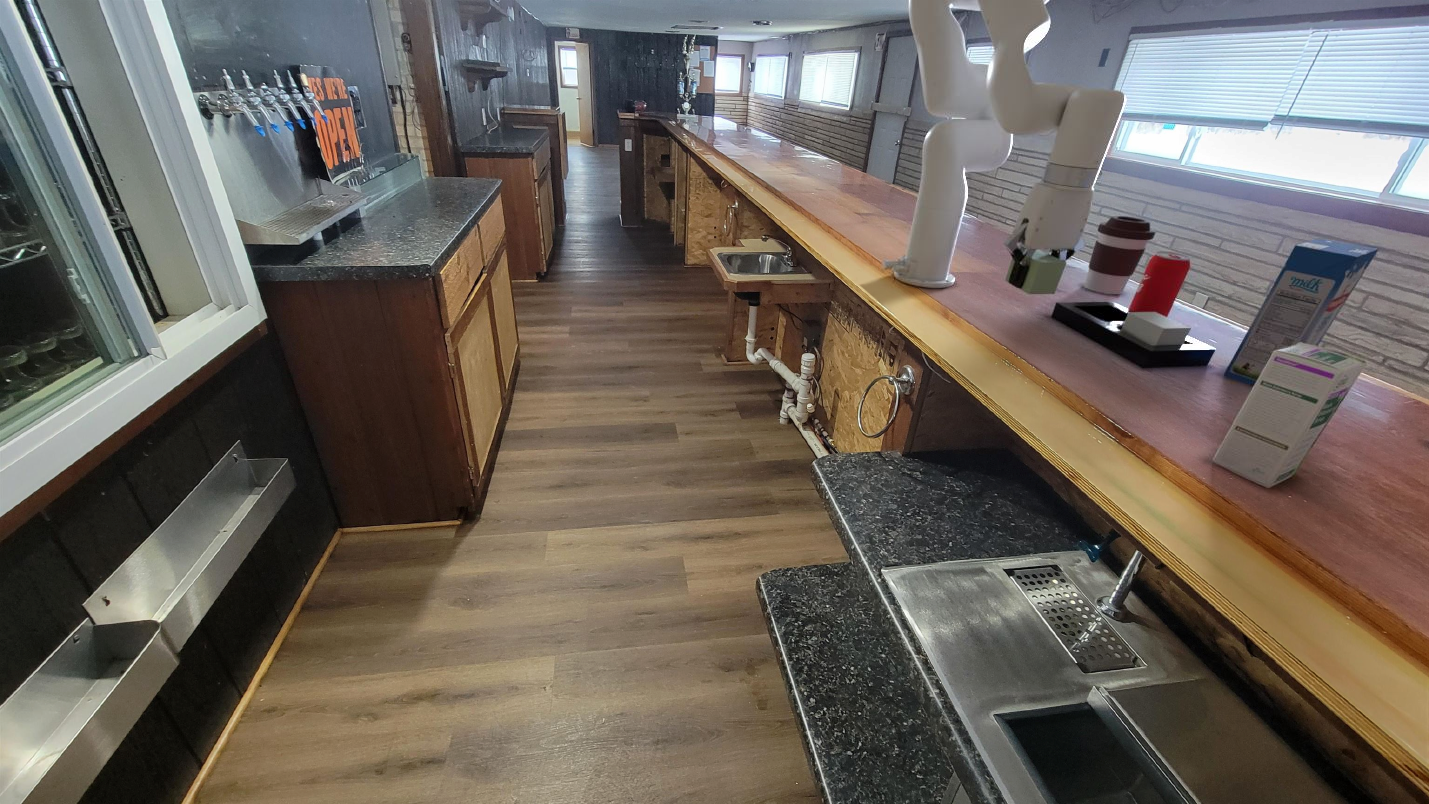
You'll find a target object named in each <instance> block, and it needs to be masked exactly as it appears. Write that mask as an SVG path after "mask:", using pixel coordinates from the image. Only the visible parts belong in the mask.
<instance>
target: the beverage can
mask: <svg viewBox="0 0 1429 804" xmlns="http://www.w3.org/2000/svg"><path fill="white" fill-rule="evenodd" d="M1190 269H1191V257H1190V256H1189V255H1186V254H1184V253H1178V252H1174V251H1173V252H1172V251H1159V250H1158V251H1157V252H1156V253H1155V254H1154V255H1153V256H1152V257H1151V258H1150V259H1149V260H1148V263H1147V265H1146V267H1145V270H1144V272H1143V275H1142V277H1141V279H1140V281H1139V284H1138V285H1137V289H1136V290H1135V293H1134V295H1133V298H1132V300H1131V303H1130V305H1129V307H1128V309H1129V310H1132V311H1134V312H1156V313H1158V314H1161V315H1163V316H1165V317H1167V318H1168V316H1169V314H1170V312H1171V310H1172V308H1173V306H1174V304H1175V301H1176V299H1177V297H1178V295H1179V293H1180V291H1181V288H1182V286H1183V284H1184V282H1185V280H1186V277H1187V276H1188V273H1189V271H1190Z"/></svg>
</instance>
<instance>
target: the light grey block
mask: <svg viewBox="0 0 1429 804" xmlns="http://www.w3.org/2000/svg"><path fill="white" fill-rule="evenodd" d="M1121 330H1122V331H1124V332H1126V333H1128V334H1130V335H1132V336H1134V337H1136V338H1138V339H1140V340H1142V341H1144V342H1146V343H1148V344H1150V345H1152V346H1153V345H1183V344H1184V342H1185V340H1186V337H1187V336H1189V333H1190V331H1191V330H1192V327H1190V326H1189V325H1185V324H1183V323H1181V322H1179V321H1176V320H1174V319H1172V318H1169V317H1168V316H1167V317H1165V316H1163V315H1161V314H1158V313H1156V312H1129V313H1128V315H1127V318H1126V320H1125V322H1124V325H1123V327H1122V329H1121Z"/></svg>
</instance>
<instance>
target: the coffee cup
mask: <svg viewBox="0 0 1429 804" xmlns="http://www.w3.org/2000/svg"><path fill="white" fill-rule="evenodd" d="M1097 232H1098V233H1099V234H1098V238H1097V240H1096V241H1095V244H1094V247H1093V250H1092V254H1091V257H1090V260H1089V264H1088V271H1087V274H1086V277H1085V280H1084V285H1083V286H1084V288H1086V289H1087V290H1089V291H1091V292H1095V293H1099V294H1104V295H1120V294H1122V293H1123V292H1124V290H1125V288H1126V286H1127V284H1128V283H1129V279H1130V278H1131V277H1132V275H1134V273H1135V271H1136V269H1137V267H1138V265H1139V263H1140V261H1141V259H1142V257H1143V255H1144V253H1145V251H1146V247H1147V245H1148V242H1149V241H1151V240H1153V239H1154V238H1155V235H1156V233H1157V231H1156V230H1155V229H1153V228H1152V227H1151V221H1149V220H1147V219H1144V218H1140V217H1134V216H1128V215H1127V216H1126V215H1112V216H1111V217H1110V218H1109V219H1108V220H1107V221H1103V222H1102V221H1101V222H1100V223H1099V225H1098V227H1097Z"/></svg>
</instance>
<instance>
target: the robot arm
mask: <svg viewBox="0 0 1429 804" xmlns="http://www.w3.org/2000/svg"><path fill="white" fill-rule="evenodd" d="M1049 1H1050V0H908V18H909V23H910V28H911V32H912V35H913V38H914V42H915V47H916V50H917V57H918V66H919V67H918V68H919V73H920V81H921V89H922V95H923V101H924V105H925V109H926V111H927V113H928V114H930V115H931V116H934V117H937V118H948V119H945V120H942V121H940V122H937V123H936V124H934V125H933V126H932V127H931V128H930V129H929V130H928V132H927V133H926V135H925V138H924V140H923V143H922V144H923V145H922V151H921V152H922V153H921V176H920V182H919V189H918V194H917V199H916V204H915V208H914V213H913V217H912V223H911V227H910V232H909V237H908V241H907V246H906V251H905V254H902V255H900V257H899V258H898V259H896V260H883V261H882V263H881V268H882V270H885V271H886V270H892V272H894V274H893V276H894V278H895V279H896V280H897V281H900V282H902V283H903V284H904V283H905V284H907V285H911V286H915V287H920V288H921V287H922V288H931V289H942V288H948V287H951V286H953V285H954V284H955V279H956V277H954V275H952V274H951V273H950V270H951V269H950V268H951V264H952V261H953V255H954V253H955V248H956V244H957V241H958V236H959V233H960V229H961V225H962V221H963V217H964V214H965V210H966V205H967V201H968V192H969V191H968V184H967V179H966V174H965V173H978V172H979V173H981V172H990V171H994V170H996V169H998V168H1000V167H1001V166H1002V165H1003V164H1004V163H1005V162H1006V161H1007V159H1008V158H1009V157H1010V154H1011V151H1012V146H1013V136H1038V137H1055V138H1054V140H1053V144H1052V147H1051V150H1050V153H1049V156H1048V159H1047V161H1046V164H1045V168H1044V170H1043V173H1042V176H1041V179H1040V181H1039V182H1035V183H1034V185H1033V186H1032V188H1031V189H1030V191H1029V193H1028V194H1027V196H1026V199H1025V200H1024V203H1023V205H1022V207H1021V210H1020V212H1019V214H1018V216H1017V219H1016V222H1015V224H1014V227H1013V230H1012V233H1011V234H1010V235H1009V236H1008V237H1007V238H1006V239H1005V240H1004V241H1003V246H1004V247H1005V248H1006V249H1007V251H1008V253H1009V254H1010V256H1011V261H1012V260H1013V261H1015V262H1014V265H1013V268H1012V271H1011V274H1010V277H1009V282H1008V284H1010V285H1012V286H1014V288H1016V289H1019V288H1022V287H1023V284H1024V281H1025V278H1026V275H1027V273H1028V270H1029V266H1028V265H1027V264H1028V262H1029V261H1030V259H1031V257H1032V256H1033V254H1034V253H1035V251H1036V250H1049V251H1048V254H1049V255H1052V256H1054V257H1056V258H1058V259H1060V260H1062V261H1064V262H1066V263H1067V260H1069V259H1070V258H1071V257H1073V256H1074V255H1075V254H1076V253H1077V252H1079V251H1080V250H1082V249H1084V248H1085V246H1086V242H1085V238H1084V235H1083V233H1084V231H1085V228H1086V226H1087V223H1088V220H1089V216H1090V213H1091V211H1092V210H1091V209H1092V205H1093V201H1094V196H1095V188H1094V186H1095V183H1096V180H1097V179H1098V180H1099V179H1100V178H1101V177H1102V176H1103V171H1102V170H1101V168H1102V165H1103V162H1104V160H1105V157H1106V155H1107V152H1108V149H1109V147H1110V144H1111V141H1112V140H1113V137H1114V134H1115V132H1116V129H1117V126H1118V125H1119V121H1120V119H1121V117H1122V114H1123V111H1124V108H1125V105H1126V102H1127V98H1126V94H1125V93H1124V92H1122V91H1120V90H1115V89H1106V88H1092V87H1091V88H1090V87H1087V88H1086V87H1085V88H1084V87H1081V86H1079V85H1078V86H1077V85H1073V84H1061V83H1051V82H1035V81H1034V79H1033V77H1032V74H1031V73H1030V70H1029V67H1028V64H1027V61H1026V57H1025V54H1026V53H1027V52H1029V51H1031V49H1033V48H1035V46H1036V45H1037V44H1039V43H1040V41H1041V40H1042V39H1043V38H1044V37H1045V36H1046V34H1047V33H1048V31H1049V28H1050V25H1051V16H1050V14H1049V11H1048V9H1047V6H1046V4H1047V3H1048V2H1049ZM952 9H958V10H966V11H967V10H968V11H975V12H976V11H977V12H980V13H981V16H982V18H983V21H984V23H985V27H986V30H987V32H988V35H989V38H990V41H991V44H992V45H993V46H992V47H993V53H992V55H991V56H990V60H989V62H988V64H984V63H974V62H972V61H971V60H969V57H968V52H967V48H966V39H965V35H964V31H963V29H962V26H961V25H960V23H959V21H958V20H957V18H956V17H955V16H954V14H953V12H952ZM1018 243H1020V244H1019V246H1018ZM1025 250H1027V251H1026V252H1025ZM1024 252H1025V254H1024Z"/></svg>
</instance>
